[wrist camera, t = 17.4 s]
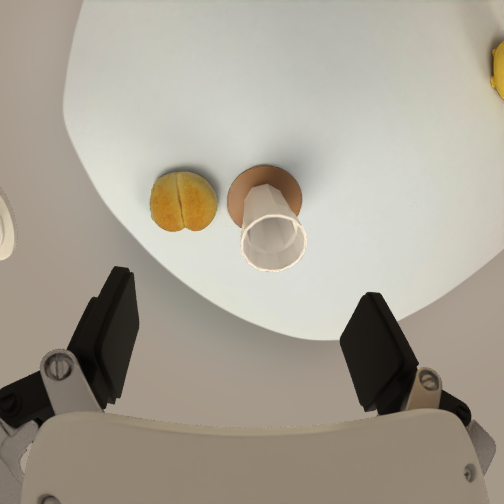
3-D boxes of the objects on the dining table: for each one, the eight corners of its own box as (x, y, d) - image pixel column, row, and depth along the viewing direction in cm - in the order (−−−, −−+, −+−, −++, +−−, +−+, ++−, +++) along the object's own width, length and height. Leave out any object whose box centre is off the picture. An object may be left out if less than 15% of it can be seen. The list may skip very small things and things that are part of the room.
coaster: (223, 229, 39) (223, 231, 39) (232, 160, 34) (232, 161, 34) (292, 237, 41) (292, 239, 40) (308, 172, 35) (309, 173, 35)
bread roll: (219, 225, 39) (217, 239, 36) (156, 226, 38) (149, 240, 35) (217, 168, 35) (215, 177, 31) (149, 171, 34) (140, 180, 31)
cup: (228, 198, 36) (226, 239, 27) (270, 168, 35) (283, 200, 25) (258, 232, 39) (265, 282, 30) (298, 206, 38) (318, 249, 28)
